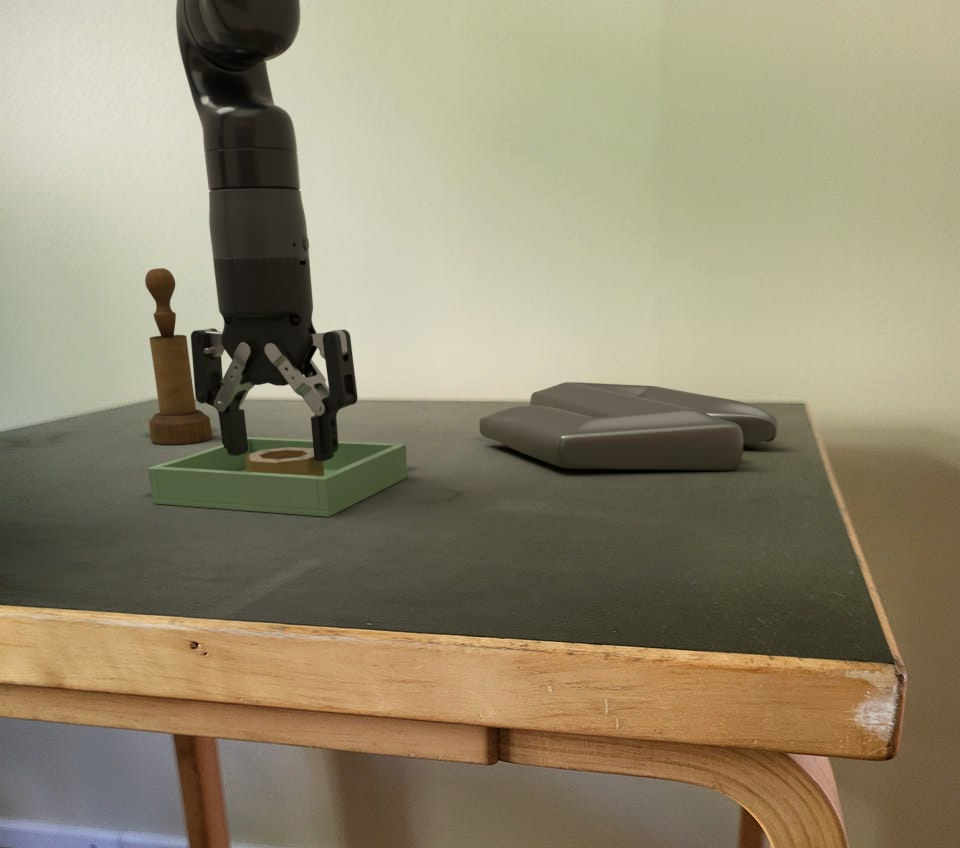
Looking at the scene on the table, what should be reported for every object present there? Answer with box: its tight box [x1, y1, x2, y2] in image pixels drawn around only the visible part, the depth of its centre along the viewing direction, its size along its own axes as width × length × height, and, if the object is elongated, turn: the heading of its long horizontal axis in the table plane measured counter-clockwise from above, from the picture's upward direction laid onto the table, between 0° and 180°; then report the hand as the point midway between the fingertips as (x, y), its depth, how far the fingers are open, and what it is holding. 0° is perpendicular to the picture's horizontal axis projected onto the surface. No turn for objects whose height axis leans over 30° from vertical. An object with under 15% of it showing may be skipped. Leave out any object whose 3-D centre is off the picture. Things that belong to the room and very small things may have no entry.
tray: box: [147, 436, 408, 518], centre depth 83 cm, size 17×15×3 cm
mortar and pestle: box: [144, 267, 213, 446], centre depth 106 cm, size 7×6×18 cm
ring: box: [245, 447, 324, 477], centre depth 83 cm, size 6×6×3 cm
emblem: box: [478, 381, 779, 472], centre depth 97 cm, size 28×5×28 cm
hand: (280, 456), depth 83 cm, fingers open, 8 cm apart
